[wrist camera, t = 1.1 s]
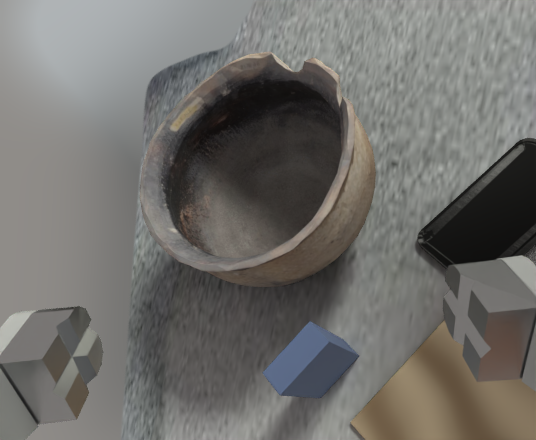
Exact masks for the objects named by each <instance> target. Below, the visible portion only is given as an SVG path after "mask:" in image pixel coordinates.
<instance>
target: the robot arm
mask: <svg viewBox="0 0 536 440" xmlns="http://www.w3.org/2000/svg"><path fill="white" fill-rule="evenodd" d="M445 281H446V283H447V284H448V286H449V288H450V290H449V291H448V293H447V294H446V295H445V296H444V300H443V312H444V318H445V323H446V325H447V328H448V331H449V333H450V335H451V336H452V338H453V340H455V341H456V342H458V343H460V344H461V345H463V354H462V356H463V358H464V360H465V362H466V363H467V365H468V367H469V369H470V370H471V372H472V374H473V376H474V377H475V379H476V381H477V382H486V381H501V380H516V379H522V382H523V383H525V384H526V385H527V386H529V387H530V388H531V389H533V390H534V391H536V265H535V264H534V263H533V262H532V261H531V260H530V259H529V258H527V257H524V256H522V255H521V256H514V257H506V258H499V259H496V260H489V261H481V262H472V263H464V264H455V265H449V266H448V268H447V270H446V278H445ZM90 321H91V318H90V316H89V314H88V312H87V310H86V309H85V308H83V307H80V306H77V307H67V308H56V309H45V310H38V311H26V312H18V313H15V314H13V315H11V316H10V317H9V318H8V319H7V321H6V322H5V323H4V324H3V325H2V327H1V328H0V440H25V439H27V438H28V436H30V435H31V434H32V432H33V431H34V430H35V429H36V428H37V427H38V424H46V423H54V422H62V421H70V420H77V418H78V416H79V414H80V411H81V409H82V407H83V405H84V403H85V401H86V398H87V396H88V394H89V391H88V388H87V384H88V383H89V382H90V381H91V380H92V379H94V378H95V377H96V376H97V374H98V372H99V370H100V367H101V365H102V357H103V348H102V342H101V340H100V338H99V335H98V334H97V333H96V332H94V331H92V330H91V329H90V328H88V327H89V324H90Z"/></svg>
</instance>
